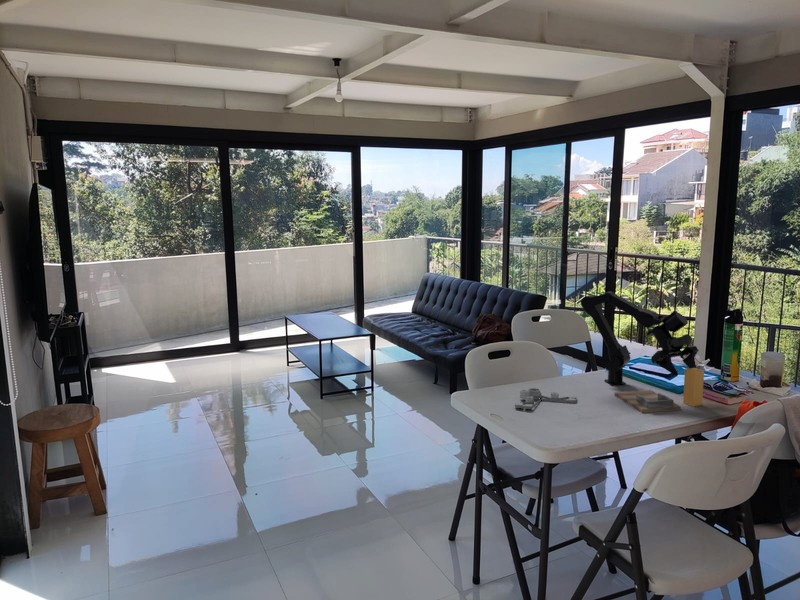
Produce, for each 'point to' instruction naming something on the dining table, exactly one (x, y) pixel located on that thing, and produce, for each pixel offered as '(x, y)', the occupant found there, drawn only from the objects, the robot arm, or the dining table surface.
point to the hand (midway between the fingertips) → (686, 373)
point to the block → (693, 386)
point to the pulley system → (536, 394)
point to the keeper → (647, 401)
